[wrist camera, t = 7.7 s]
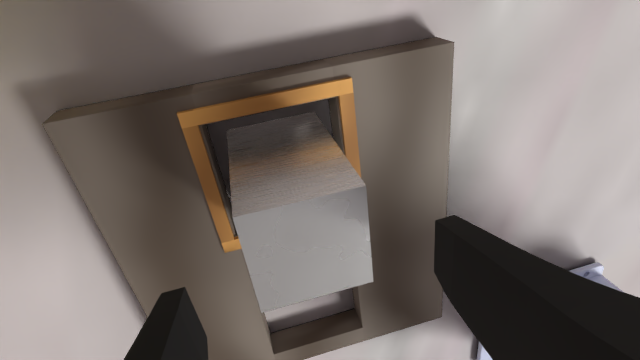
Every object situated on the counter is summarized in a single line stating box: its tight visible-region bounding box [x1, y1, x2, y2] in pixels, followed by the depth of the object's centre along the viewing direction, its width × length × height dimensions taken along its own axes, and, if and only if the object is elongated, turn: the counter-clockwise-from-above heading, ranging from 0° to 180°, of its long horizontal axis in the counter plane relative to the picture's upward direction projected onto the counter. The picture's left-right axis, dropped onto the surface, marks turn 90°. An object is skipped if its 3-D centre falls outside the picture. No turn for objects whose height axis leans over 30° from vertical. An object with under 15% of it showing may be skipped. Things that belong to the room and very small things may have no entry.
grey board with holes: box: [42, 37, 454, 360], centre depth 19 cm, size 16×17×2 cm
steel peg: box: [227, 112, 373, 313], centre depth 15 cm, size 4×4×7 cm
